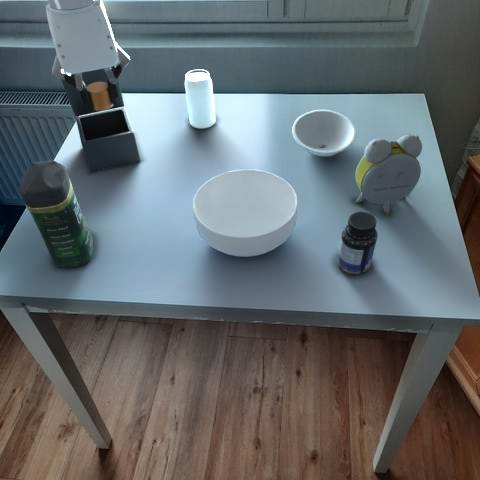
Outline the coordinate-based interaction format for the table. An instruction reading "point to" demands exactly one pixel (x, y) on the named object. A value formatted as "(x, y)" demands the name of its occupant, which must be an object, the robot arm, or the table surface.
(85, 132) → the open grey storage bin
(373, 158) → the alarm clock
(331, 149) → the dish
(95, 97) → the cylinder
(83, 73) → the lid
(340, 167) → the table surface
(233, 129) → the table surface
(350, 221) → the pill bottle
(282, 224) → the bowl
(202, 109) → the can
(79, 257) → the coffee jar
